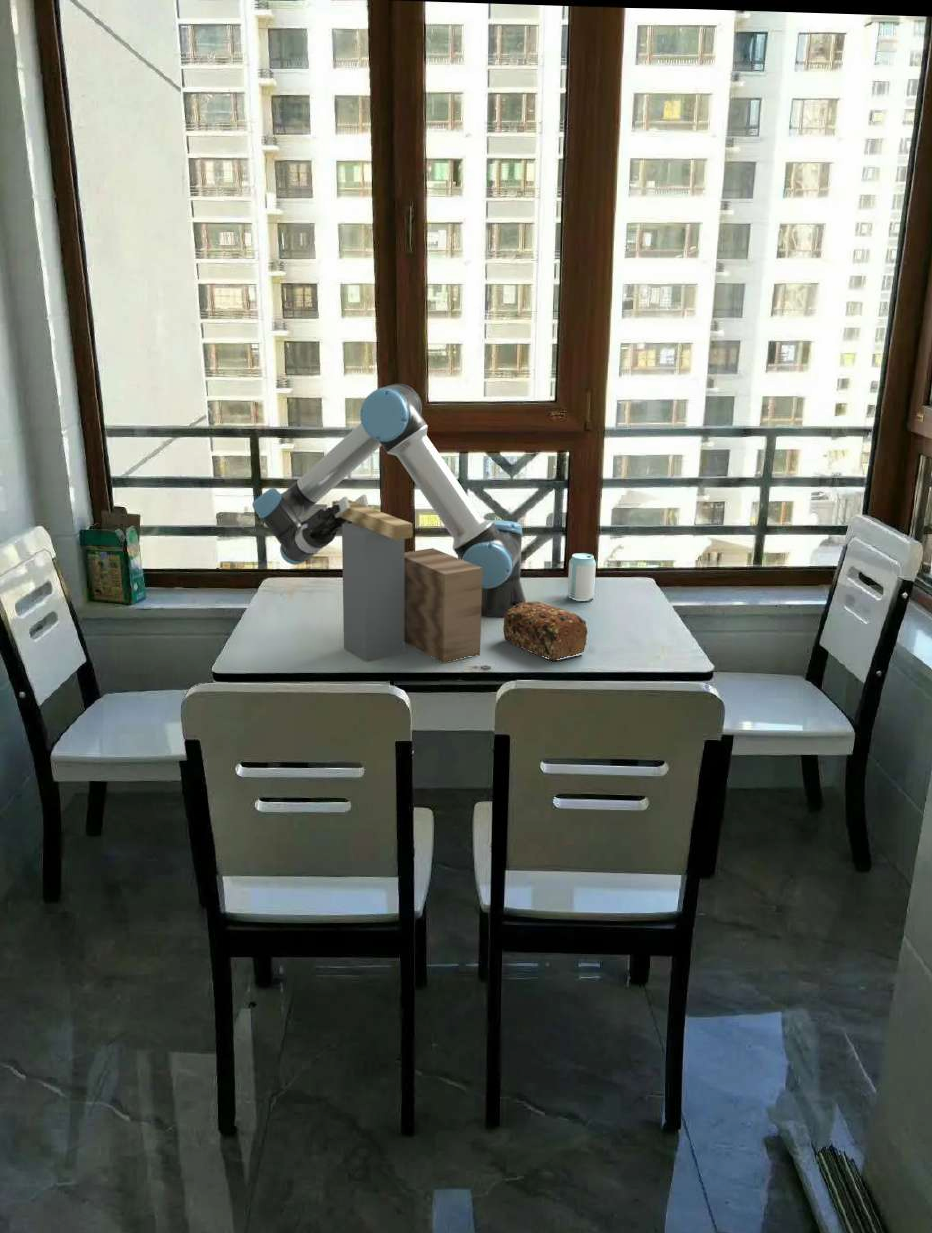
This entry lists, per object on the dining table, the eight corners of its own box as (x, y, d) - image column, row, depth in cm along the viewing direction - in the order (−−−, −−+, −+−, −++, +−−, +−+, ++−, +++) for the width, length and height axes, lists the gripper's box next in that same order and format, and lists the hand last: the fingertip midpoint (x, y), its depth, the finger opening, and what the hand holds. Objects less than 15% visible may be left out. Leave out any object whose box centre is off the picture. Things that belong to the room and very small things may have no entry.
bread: (587, 655, 228) (589, 614, 225) (551, 664, 222) (553, 622, 219) (535, 632, 242) (537, 593, 239) (500, 640, 236) (501, 600, 233)
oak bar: (332, 514, 229) (332, 501, 228) (347, 512, 231) (347, 499, 230) (396, 539, 207) (396, 525, 206) (412, 537, 209) (412, 523, 208)
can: (578, 593, 274) (581, 551, 270) (598, 599, 269) (601, 556, 265) (561, 598, 269) (564, 555, 265) (582, 604, 264) (584, 560, 261)
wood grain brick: (396, 637, 236) (396, 553, 230) (431, 630, 242) (432, 548, 235) (443, 663, 221) (444, 574, 214) (479, 655, 226) (482, 567, 220)
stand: (343, 648, 228) (341, 524, 219) (381, 640, 234) (381, 519, 225) (365, 661, 221) (364, 533, 212) (404, 653, 226) (404, 528, 217)
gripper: (350, 544, 246) (393, 513, 227) (287, 552, 237) (326, 521, 217) (343, 515, 247) (385, 482, 228) (279, 522, 237) (317, 489, 218)
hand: (356, 501), depth 223 cm, fingers closed on oak bar, 4 cm apart
